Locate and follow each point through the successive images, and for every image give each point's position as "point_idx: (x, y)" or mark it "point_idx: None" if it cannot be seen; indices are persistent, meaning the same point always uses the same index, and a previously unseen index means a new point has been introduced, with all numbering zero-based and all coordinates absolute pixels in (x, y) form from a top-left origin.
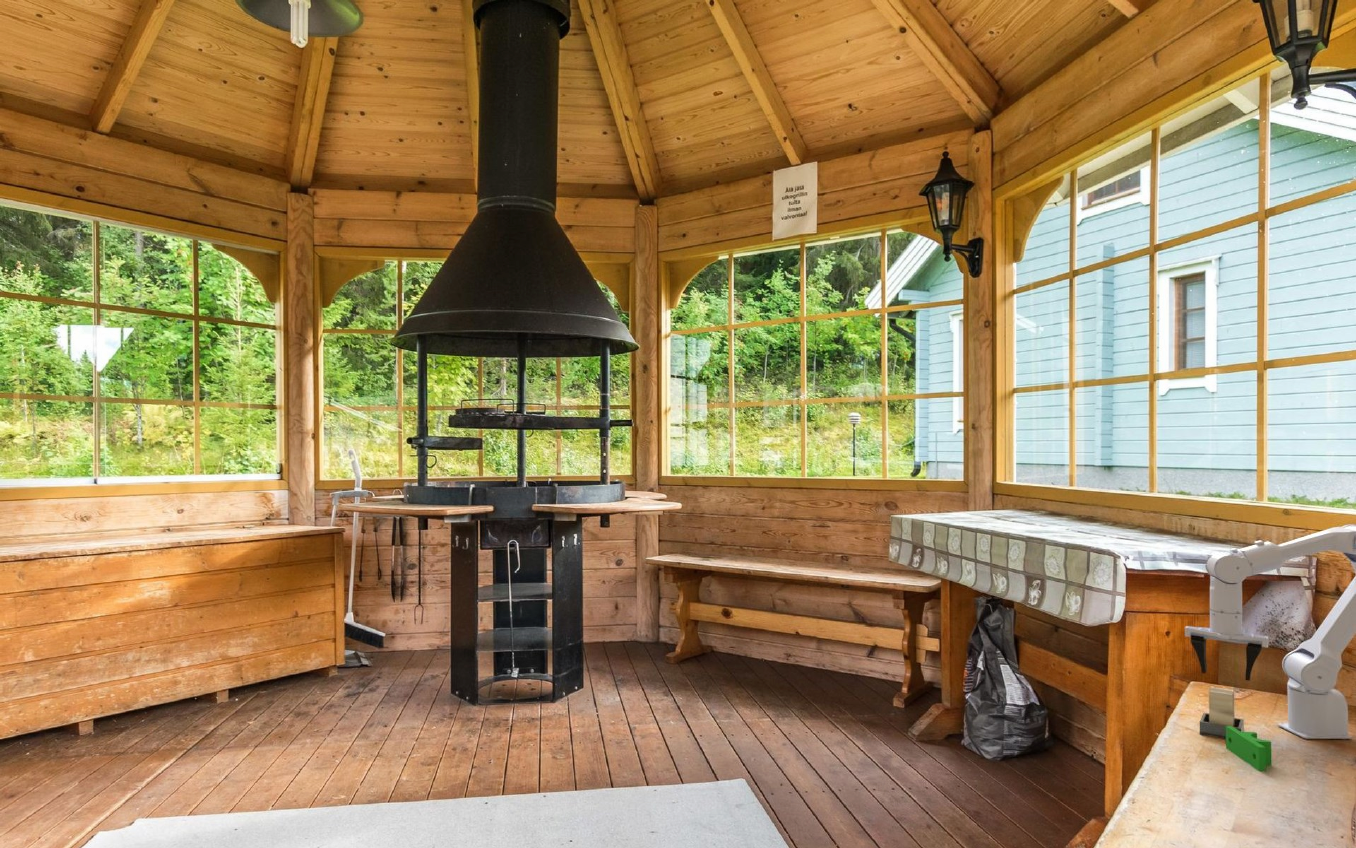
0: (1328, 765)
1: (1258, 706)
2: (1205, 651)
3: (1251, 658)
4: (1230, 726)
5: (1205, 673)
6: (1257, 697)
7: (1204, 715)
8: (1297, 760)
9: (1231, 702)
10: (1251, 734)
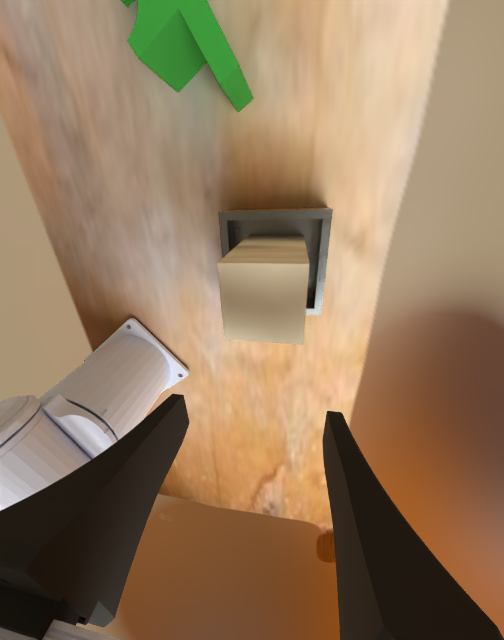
0: (42, 146)
1: (235, 456)
2: (339, 553)
3: (82, 479)
4: (222, 73)
5: (327, 412)
6: (242, 491)
7: (318, 289)
8: (95, 132)
9: (228, 254)
10: (138, 2)
